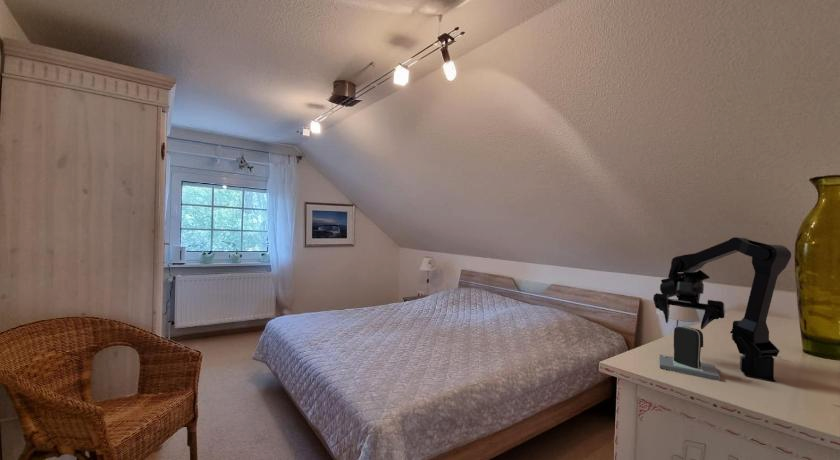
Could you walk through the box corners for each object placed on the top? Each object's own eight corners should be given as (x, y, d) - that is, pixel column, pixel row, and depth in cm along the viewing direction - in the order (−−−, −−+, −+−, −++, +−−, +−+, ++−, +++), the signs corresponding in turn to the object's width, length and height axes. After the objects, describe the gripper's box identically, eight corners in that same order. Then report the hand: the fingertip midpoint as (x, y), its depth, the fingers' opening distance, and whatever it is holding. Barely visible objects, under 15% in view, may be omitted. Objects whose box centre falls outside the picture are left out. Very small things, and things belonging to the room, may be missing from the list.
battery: (704, 367, 104) (705, 329, 104) (697, 369, 102) (698, 330, 102) (679, 359, 110) (680, 324, 110) (672, 361, 108) (673, 324, 109)
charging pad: (714, 368, 107) (714, 364, 107) (719, 380, 97) (719, 375, 97) (659, 358, 115) (659, 353, 115) (659, 368, 105) (659, 363, 105)
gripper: (655, 270, 123) (645, 304, 115) (724, 276, 109) (719, 315, 101) (660, 290, 128) (651, 324, 120) (726, 298, 114) (722, 337, 106)
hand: (683, 325), depth 112 cm, fingers open, 9 cm apart
